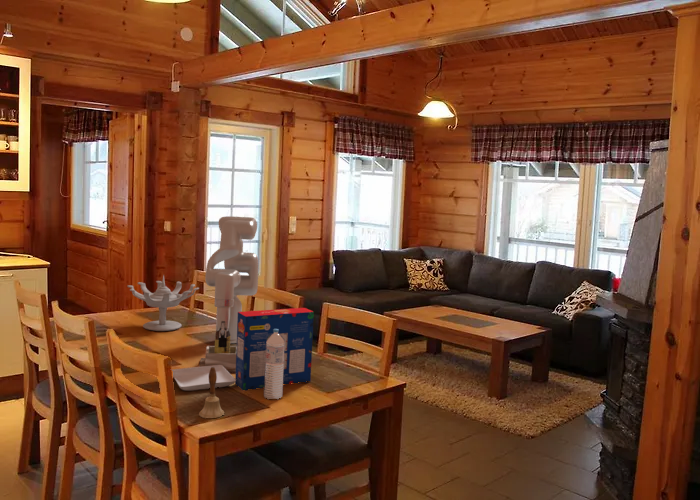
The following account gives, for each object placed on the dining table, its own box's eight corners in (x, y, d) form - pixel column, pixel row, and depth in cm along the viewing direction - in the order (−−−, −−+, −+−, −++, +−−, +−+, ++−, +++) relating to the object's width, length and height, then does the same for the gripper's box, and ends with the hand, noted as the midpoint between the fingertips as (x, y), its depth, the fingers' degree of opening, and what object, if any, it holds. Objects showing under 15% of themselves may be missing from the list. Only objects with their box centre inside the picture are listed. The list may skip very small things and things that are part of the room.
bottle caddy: (200, 360, 270) (201, 344, 269) (243, 360, 273) (244, 344, 273) (198, 373, 252) (198, 356, 252) (244, 373, 256) (244, 356, 255)
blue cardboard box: (301, 375, 257) (304, 307, 253) (310, 381, 250) (313, 311, 247) (235, 384, 242) (237, 311, 239) (243, 390, 235) (245, 316, 232)
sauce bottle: (225, 366, 260) (227, 318, 257) (211, 365, 261) (212, 317, 259) (232, 362, 266) (233, 315, 264) (217, 360, 267) (219, 314, 265)
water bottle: (264, 393, 233) (266, 326, 230) (282, 394, 234) (285, 327, 231) (263, 400, 226) (265, 331, 224) (282, 400, 227) (285, 332, 224)
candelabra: (211, 329, 324) (213, 276, 321) (149, 339, 298) (150, 282, 295) (173, 317, 346) (174, 267, 343) (112, 325, 320) (113, 272, 317)
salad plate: (179, 395, 228) (180, 386, 227) (167, 377, 247) (167, 368, 246) (237, 389, 238) (237, 380, 237) (221, 372, 256) (221, 364, 256)
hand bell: (222, 419, 207) (224, 371, 205) (197, 418, 206) (198, 370, 205) (225, 410, 215) (227, 364, 213) (201, 409, 214) (202, 363, 213)
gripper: (215, 298, 268) (214, 338, 270) (213, 306, 251) (212, 350, 253) (233, 298, 269) (232, 339, 271) (233, 307, 252) (231, 350, 254)
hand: (222, 344), depth 262 cm, fingers open, 8 cm apart
